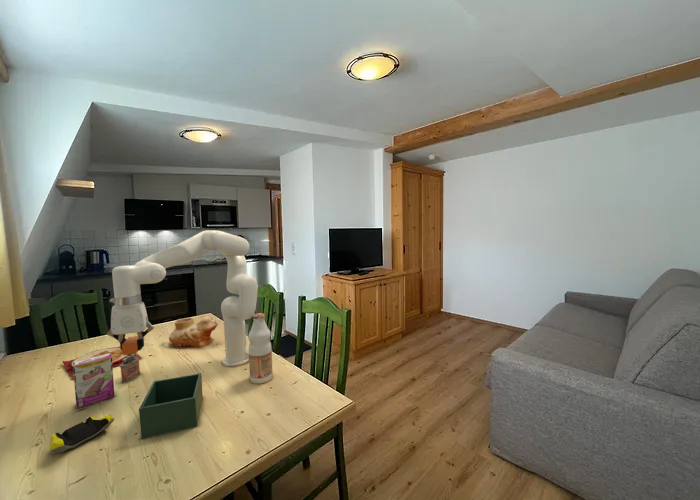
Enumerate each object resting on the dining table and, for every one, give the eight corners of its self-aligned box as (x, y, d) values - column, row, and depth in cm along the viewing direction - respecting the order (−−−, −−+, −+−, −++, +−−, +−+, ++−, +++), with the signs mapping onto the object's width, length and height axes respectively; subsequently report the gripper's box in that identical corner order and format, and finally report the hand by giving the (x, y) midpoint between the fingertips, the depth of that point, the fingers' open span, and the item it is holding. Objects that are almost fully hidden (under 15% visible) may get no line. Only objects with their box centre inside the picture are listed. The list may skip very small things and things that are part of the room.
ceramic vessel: (211, 348, 160) (210, 321, 159) (163, 348, 160) (161, 321, 159) (223, 338, 174) (221, 313, 173) (178, 338, 174) (176, 313, 173)
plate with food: (62, 365, 143) (61, 358, 143) (126, 346, 163) (126, 340, 163) (72, 381, 129) (71, 374, 128) (142, 358, 149) (141, 352, 148)
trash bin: (202, 397, 115) (201, 373, 114) (197, 426, 98) (195, 397, 97) (155, 406, 109) (153, 381, 108) (141, 438, 93) (138, 409, 92)
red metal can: (125, 383, 126) (123, 360, 125) (119, 382, 126) (117, 359, 125) (142, 373, 134) (140, 352, 133) (136, 373, 134) (134, 351, 133)
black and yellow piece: (117, 430, 97) (101, 422, 101) (116, 414, 96) (99, 406, 100) (56, 464, 83) (40, 452, 88) (54, 446, 83) (38, 435, 87)
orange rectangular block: (142, 345, 112) (141, 335, 111) (136, 353, 105) (135, 342, 105) (129, 347, 110) (128, 337, 110) (122, 355, 104) (121, 344, 103)
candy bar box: (76, 409, 108) (72, 366, 106) (76, 404, 111) (71, 361, 110) (115, 397, 116) (112, 356, 114) (113, 391, 119) (110, 352, 118)
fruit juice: (247, 384, 123) (243, 318, 121) (253, 373, 133) (250, 311, 130) (269, 383, 124) (267, 318, 121) (274, 372, 133) (272, 311, 131)
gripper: (94, 305, 100) (99, 358, 101) (152, 300, 105) (157, 350, 107) (104, 300, 107) (109, 349, 108) (158, 295, 112) (162, 342, 114)
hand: (132, 349), depth 108 cm, fingers closed on orange rectangular block, 4 cm apart
